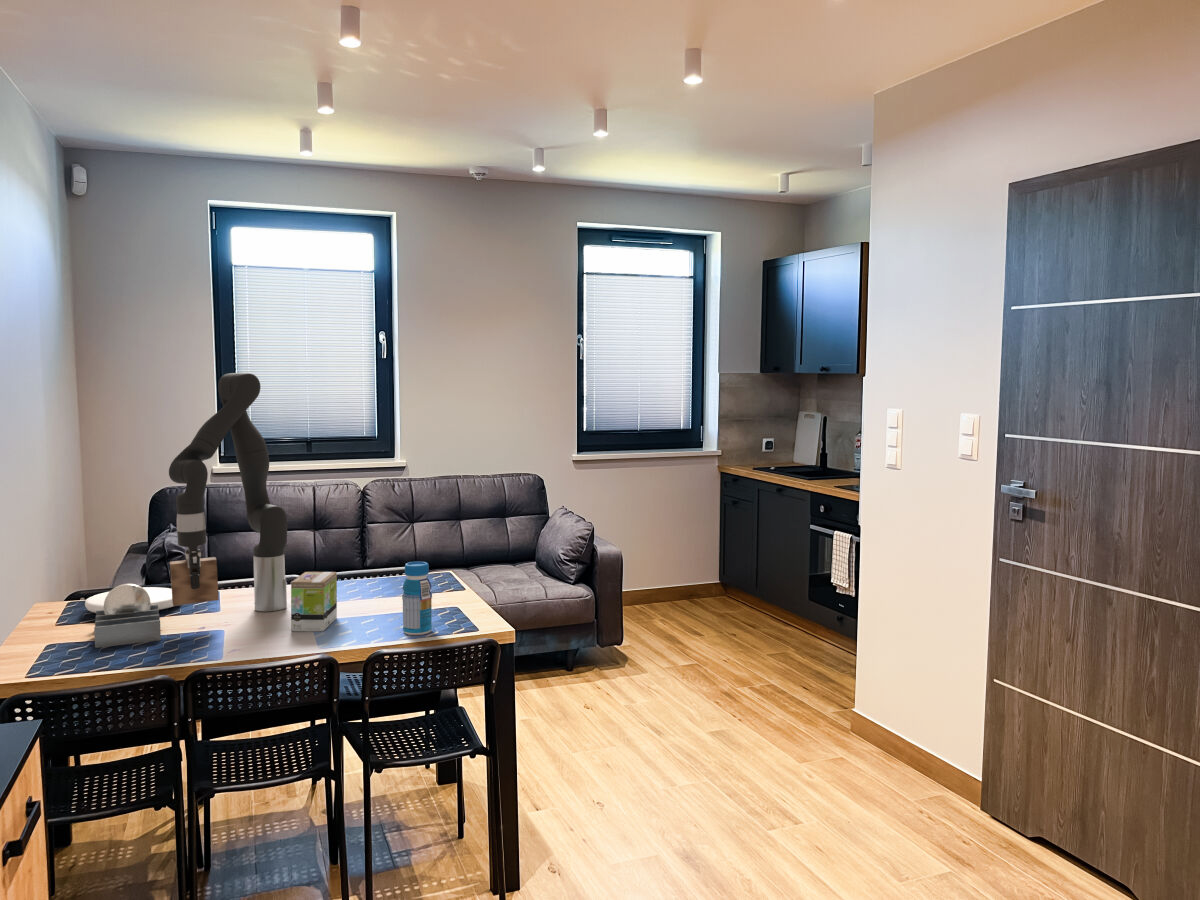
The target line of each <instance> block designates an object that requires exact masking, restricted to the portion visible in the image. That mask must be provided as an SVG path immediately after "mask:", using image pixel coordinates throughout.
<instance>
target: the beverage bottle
mask: <svg viewBox="0 0 1200 900" xmlns="http://www.w3.org/2000/svg"><path fill="white" fill-rule="evenodd" d="M429 568H430V566H429V563H428V562H427V561H409V562H407V563H405V565H404V576H405V577H406V578H405V579H404V581H403V584H402V588H401V589H402V590H403V592H402V595H401V599H402V624H403V625H402V631H403V634H405V635H409V636H422V635H426V634H429V633H431V632H432V630H433V626H432V617H433V616H432V608H433V607H432V606H433V605H432V599H433V595H432V594H433V593H432V591H431V590H432V582H431V581H430V579H429V578H428V577H427V576H428V575H429V573H430V570H429Z"/></svg>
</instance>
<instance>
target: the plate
mask: <svg viewBox="0 0 1200 900" xmlns="http://www.w3.org/2000/svg"><path fill="white" fill-rule="evenodd" d="M142 588H144V589H145V590H146V591H147V593H148V594H149V597H150V602H151V605H158V609H159V611H160V610H165V609H169V608H172V607H174V606H173V603H172V588H169V587H155V586H154V587H151V586H149V587H148V586H147V587H144V586H143V587H142ZM109 592H110V591H105V592H102V593H98V594H95V595H93V596H90V597H88V598H86V600H85V603H84V606H85V608H86V610H87V611H89V612H92V613H94V614H96V611H98V610H104V601H105V598H106V596H107V595H108V593H109Z"/></svg>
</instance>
